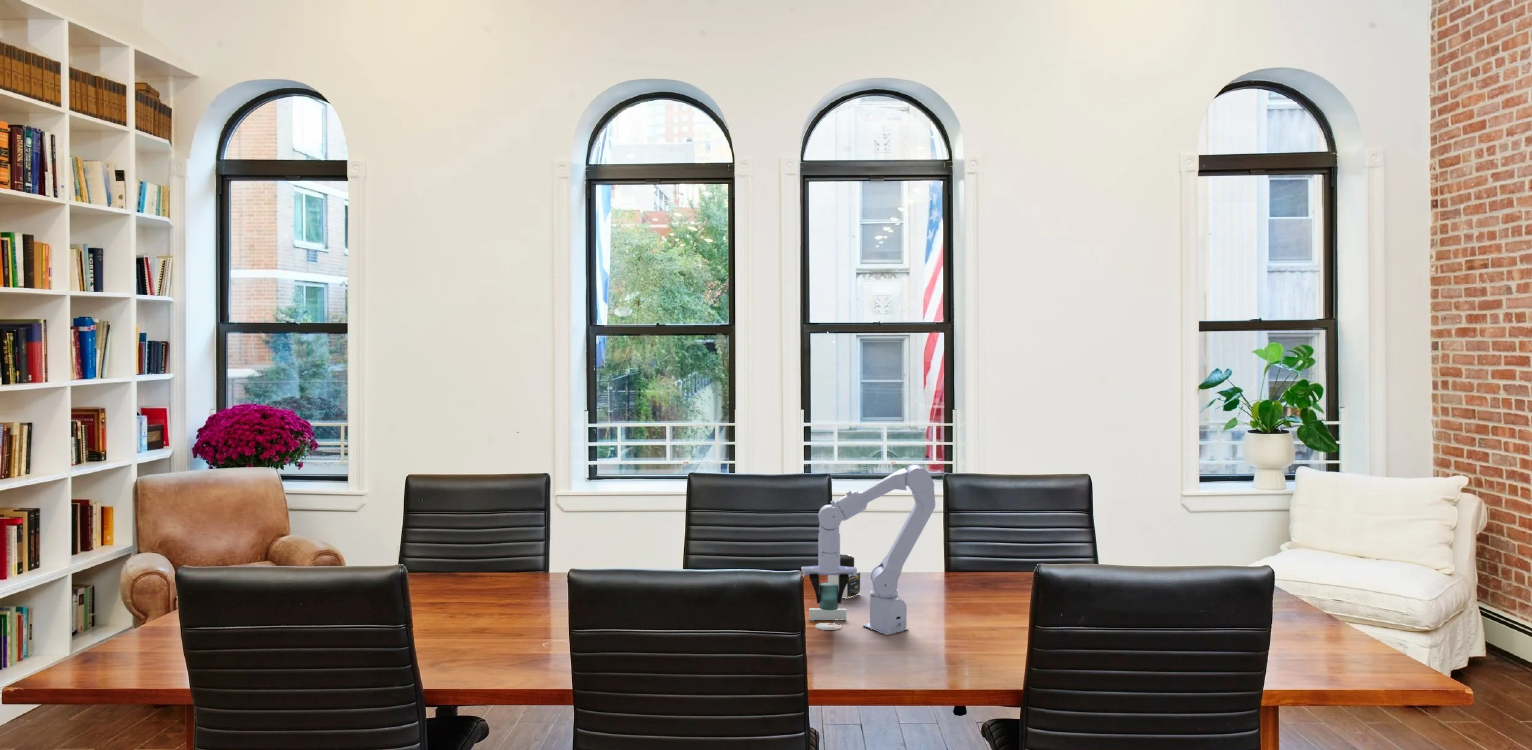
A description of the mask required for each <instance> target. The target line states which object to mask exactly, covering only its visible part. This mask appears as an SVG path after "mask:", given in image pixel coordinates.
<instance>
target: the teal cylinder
mask: <svg viewBox="0 0 1532 750" xmlns="http://www.w3.org/2000/svg"><path fill="white" fill-rule="evenodd" d="M819 598H820V603H818V608H820V609H822V610H836V609H839V603H838V584H834V583H828V582H821V583H819Z"/></svg>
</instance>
